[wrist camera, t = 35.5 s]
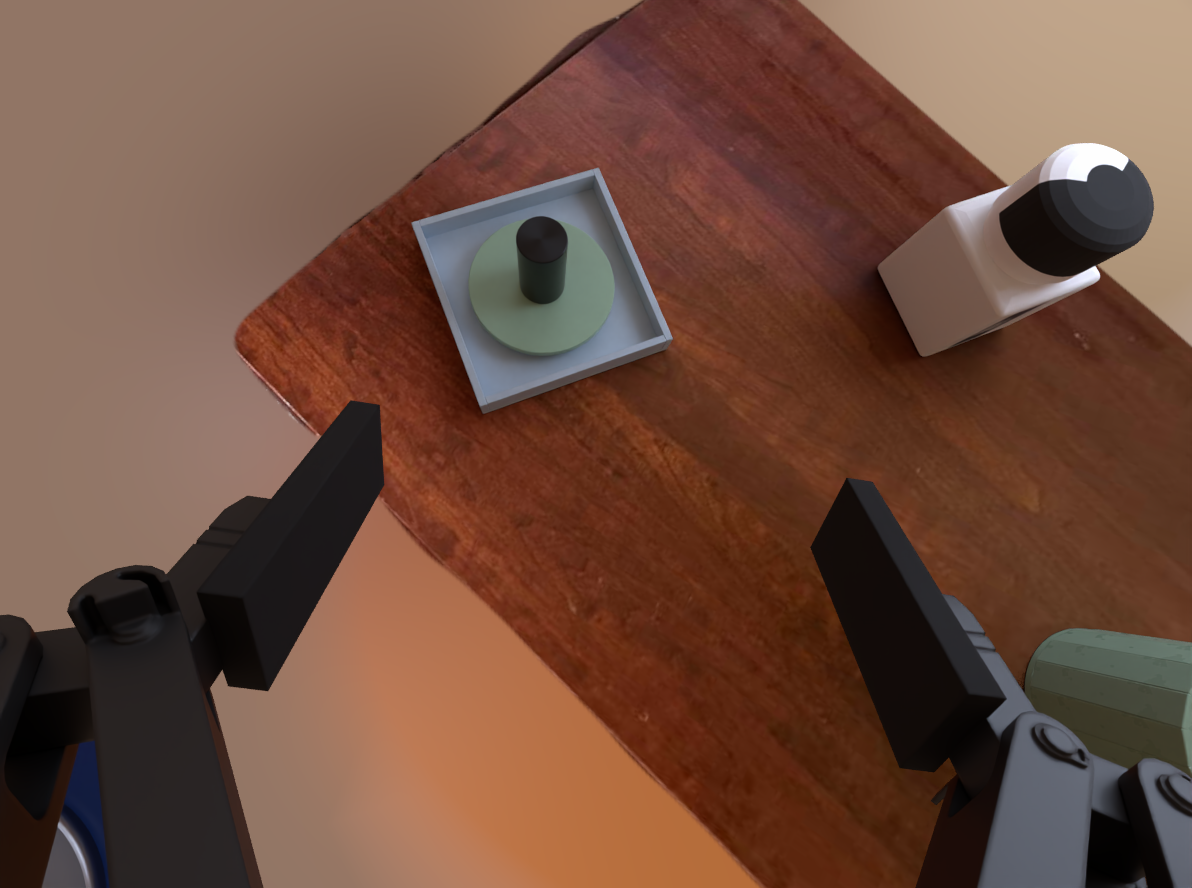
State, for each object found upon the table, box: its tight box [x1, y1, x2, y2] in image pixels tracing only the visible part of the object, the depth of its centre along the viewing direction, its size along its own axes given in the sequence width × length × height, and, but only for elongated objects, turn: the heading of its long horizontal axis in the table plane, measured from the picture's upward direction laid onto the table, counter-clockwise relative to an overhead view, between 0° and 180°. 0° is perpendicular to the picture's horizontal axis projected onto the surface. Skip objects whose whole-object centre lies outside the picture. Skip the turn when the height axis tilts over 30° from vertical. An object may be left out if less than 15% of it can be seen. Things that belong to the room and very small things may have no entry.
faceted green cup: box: [1025, 628, 1192, 778], centre depth 33 cm, size 9×9×10 cm
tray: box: [411, 168, 673, 414], centre depth 38 cm, size 14×14×2 cm
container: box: [878, 143, 1154, 357], centre depth 36 cm, size 8×8×13 cm
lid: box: [468, 216, 615, 356], centre depth 36 cm, size 10×10×7 cm
